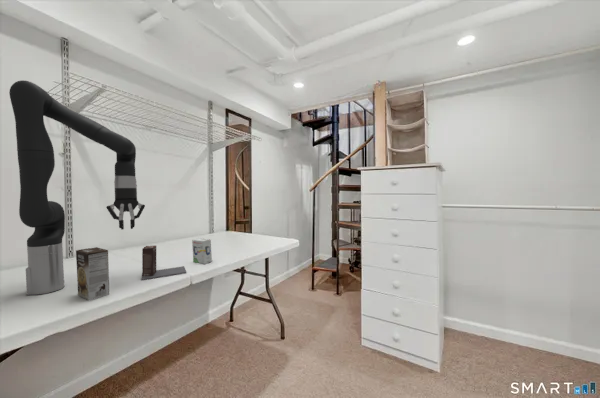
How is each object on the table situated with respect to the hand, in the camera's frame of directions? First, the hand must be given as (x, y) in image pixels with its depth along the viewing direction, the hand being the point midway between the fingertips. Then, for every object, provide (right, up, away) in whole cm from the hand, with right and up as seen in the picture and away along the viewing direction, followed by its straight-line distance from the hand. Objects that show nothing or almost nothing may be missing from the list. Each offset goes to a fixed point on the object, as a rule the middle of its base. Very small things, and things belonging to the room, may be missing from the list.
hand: (127, 228), depth 105 cm
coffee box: (-1, -22, -15) cm, 27 cm away
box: (+7, -20, +4) cm, 22 cm away
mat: (+11, -21, +7) cm, 25 cm away
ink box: (+22, -20, +25) cm, 39 cm away
